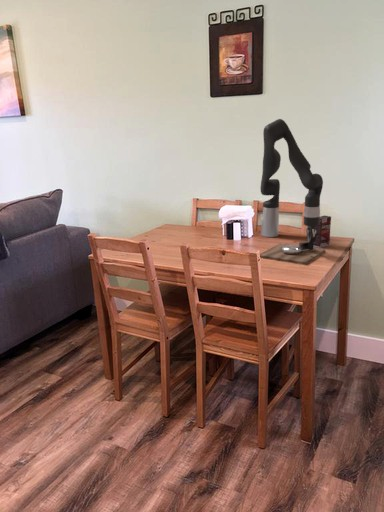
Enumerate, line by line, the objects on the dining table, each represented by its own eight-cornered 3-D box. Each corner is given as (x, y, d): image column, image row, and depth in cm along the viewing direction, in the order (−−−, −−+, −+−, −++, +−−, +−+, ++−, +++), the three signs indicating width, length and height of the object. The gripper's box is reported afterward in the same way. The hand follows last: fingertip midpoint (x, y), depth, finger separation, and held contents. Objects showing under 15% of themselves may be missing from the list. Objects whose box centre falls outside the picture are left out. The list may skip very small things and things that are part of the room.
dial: (287, 255, 209) (288, 247, 208) (278, 249, 218) (278, 242, 217) (315, 251, 213) (316, 243, 211) (305, 246, 222) (305, 239, 221)
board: (258, 257, 213) (258, 253, 212) (280, 245, 232) (280, 242, 231) (306, 264, 198) (306, 261, 198) (325, 251, 217) (325, 248, 217)
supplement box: (320, 248, 223) (321, 218, 219) (312, 246, 227) (313, 217, 222) (330, 245, 228) (331, 216, 224) (322, 243, 232) (323, 215, 227)
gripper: (322, 217, 202) (321, 252, 207) (316, 212, 214) (315, 245, 219) (306, 218, 202) (305, 253, 207) (301, 213, 215) (300, 246, 220)
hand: (310, 249), depth 213 cm, fingers closed
